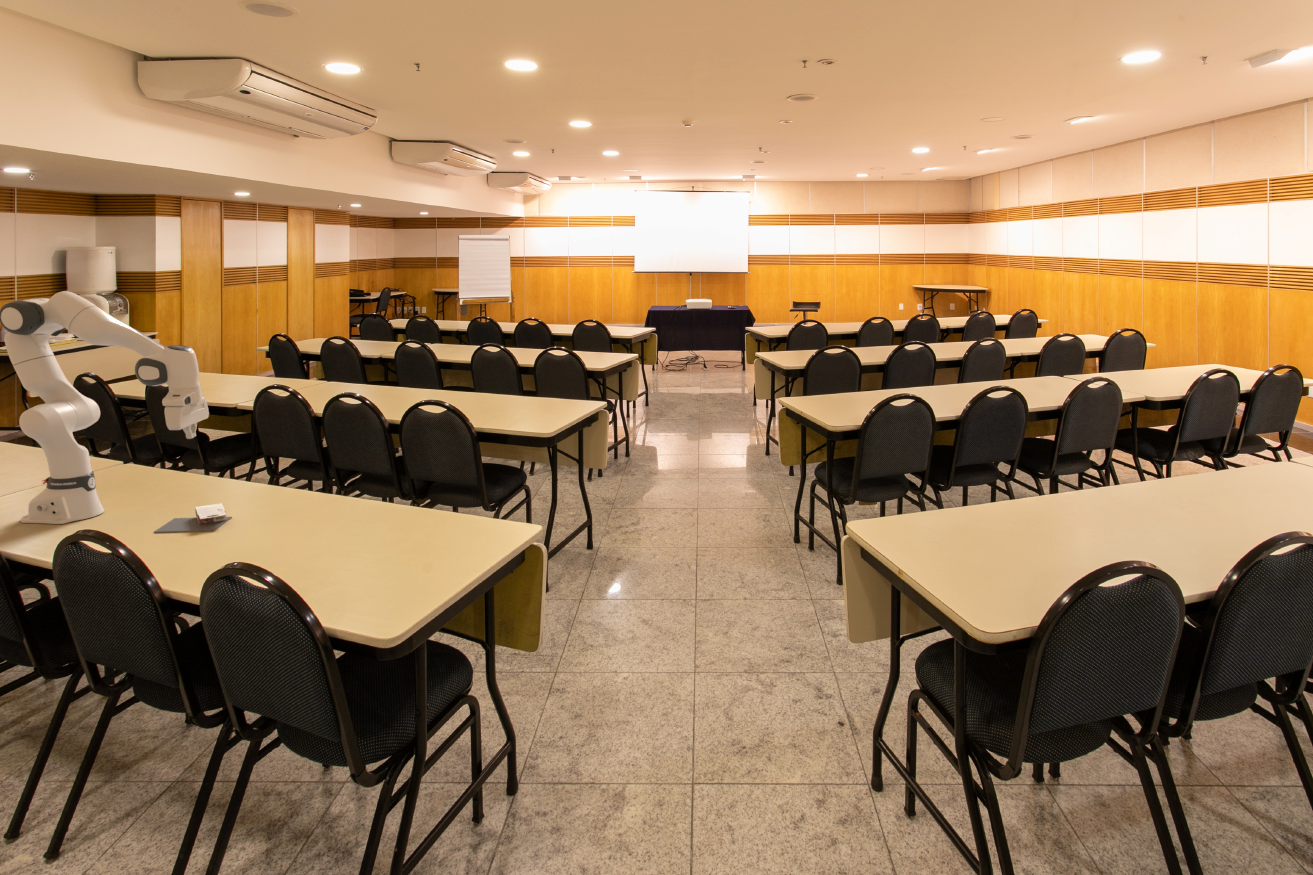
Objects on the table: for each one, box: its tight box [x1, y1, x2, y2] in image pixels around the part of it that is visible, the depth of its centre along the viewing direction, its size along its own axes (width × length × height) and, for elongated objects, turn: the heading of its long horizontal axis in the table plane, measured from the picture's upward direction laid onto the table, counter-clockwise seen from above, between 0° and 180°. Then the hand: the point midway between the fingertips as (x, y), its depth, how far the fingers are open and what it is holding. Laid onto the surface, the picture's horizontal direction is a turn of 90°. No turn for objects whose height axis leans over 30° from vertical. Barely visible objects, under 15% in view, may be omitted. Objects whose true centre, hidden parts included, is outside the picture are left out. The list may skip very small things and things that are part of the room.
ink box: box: [194, 502, 227, 524], centre depth 250 cm, size 4×8×15 cm
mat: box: [153, 516, 233, 534], centre depth 247 cm, size 18×13×1 cm
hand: (191, 437), depth 249 cm, fingers closed
